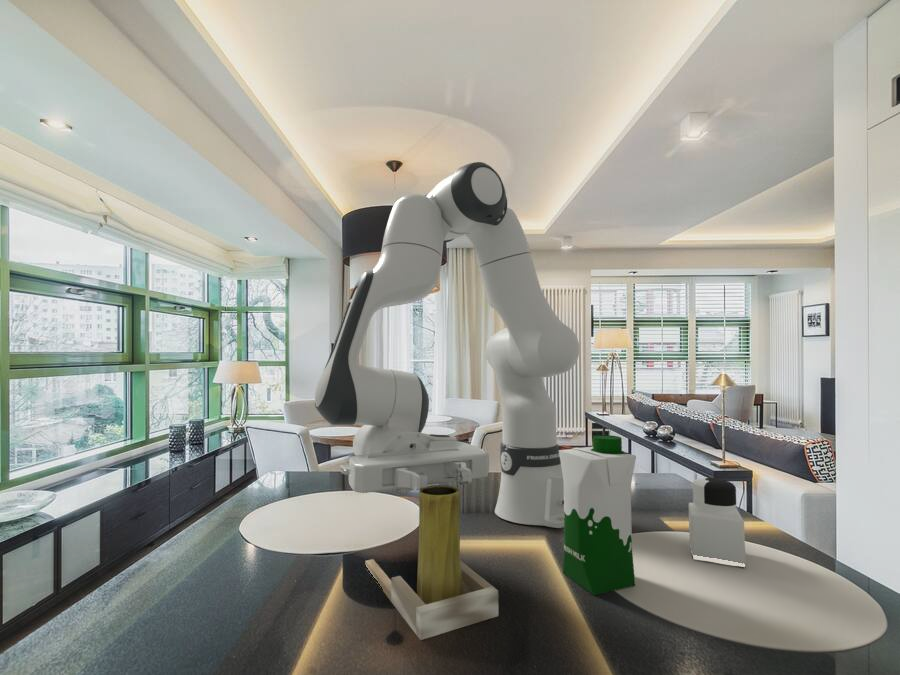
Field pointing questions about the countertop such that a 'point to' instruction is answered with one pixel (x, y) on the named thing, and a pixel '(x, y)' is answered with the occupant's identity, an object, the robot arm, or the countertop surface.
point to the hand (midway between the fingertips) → (445, 480)
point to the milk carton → (598, 515)
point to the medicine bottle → (716, 521)
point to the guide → (440, 603)
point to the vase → (439, 544)
